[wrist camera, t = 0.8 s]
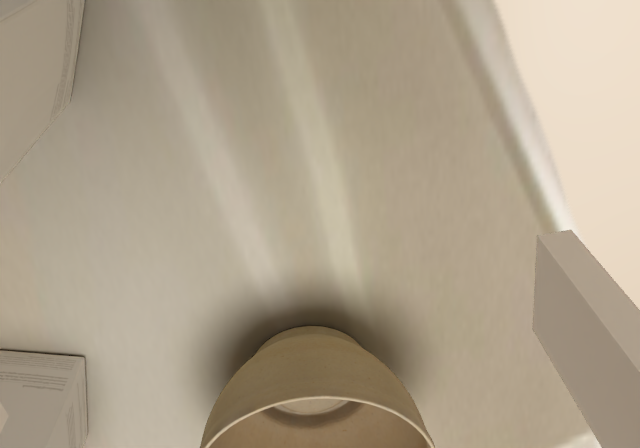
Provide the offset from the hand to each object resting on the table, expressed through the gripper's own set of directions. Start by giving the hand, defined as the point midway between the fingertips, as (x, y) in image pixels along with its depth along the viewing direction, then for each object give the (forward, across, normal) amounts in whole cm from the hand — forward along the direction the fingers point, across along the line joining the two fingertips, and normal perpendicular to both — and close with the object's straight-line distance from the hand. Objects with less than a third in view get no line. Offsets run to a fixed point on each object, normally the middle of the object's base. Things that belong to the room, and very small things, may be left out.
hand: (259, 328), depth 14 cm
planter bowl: (+25, -1, -26) cm, 36 cm away
